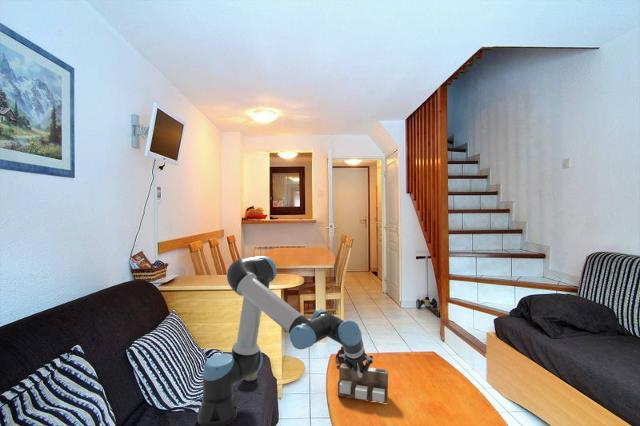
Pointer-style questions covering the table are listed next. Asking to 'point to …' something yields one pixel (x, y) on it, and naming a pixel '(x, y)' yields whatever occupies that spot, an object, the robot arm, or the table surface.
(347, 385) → the left button
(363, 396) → the middle button
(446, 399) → the table surface
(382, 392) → the right button
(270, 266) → the robot arm
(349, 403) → the table surface
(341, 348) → the red wheeled toy
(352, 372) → the console
